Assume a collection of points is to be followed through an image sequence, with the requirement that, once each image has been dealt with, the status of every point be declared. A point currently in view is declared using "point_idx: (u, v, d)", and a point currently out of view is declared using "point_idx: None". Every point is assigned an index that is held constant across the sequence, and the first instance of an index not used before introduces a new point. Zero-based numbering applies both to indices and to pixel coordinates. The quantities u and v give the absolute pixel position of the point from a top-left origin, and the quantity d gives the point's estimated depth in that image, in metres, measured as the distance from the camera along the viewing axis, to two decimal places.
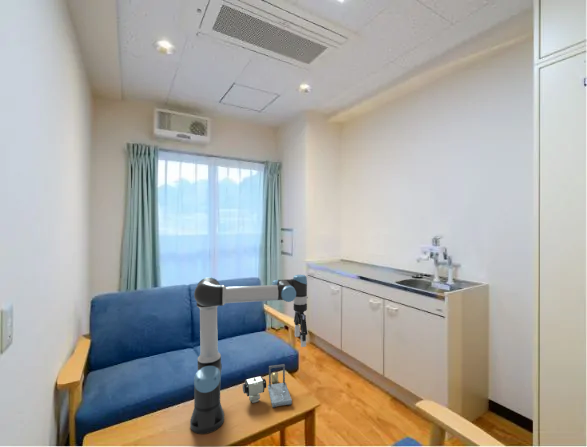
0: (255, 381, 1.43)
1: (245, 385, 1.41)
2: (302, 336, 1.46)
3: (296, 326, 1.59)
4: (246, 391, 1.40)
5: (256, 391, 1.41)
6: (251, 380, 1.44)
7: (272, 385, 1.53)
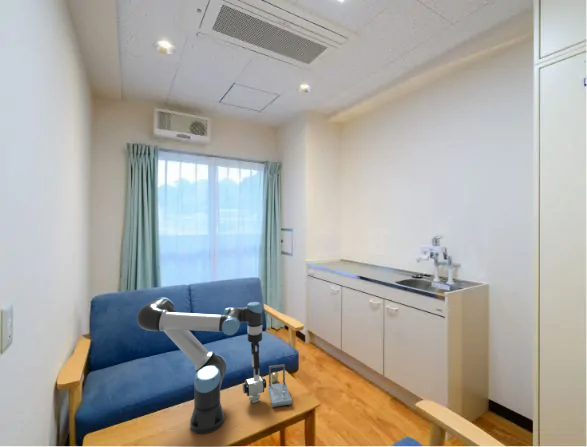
0: (255, 381, 1.43)
1: (245, 385, 1.41)
2: None
3: (253, 356, 1.50)
4: (246, 391, 1.40)
5: (256, 391, 1.41)
6: (251, 380, 1.44)
7: (272, 385, 1.53)
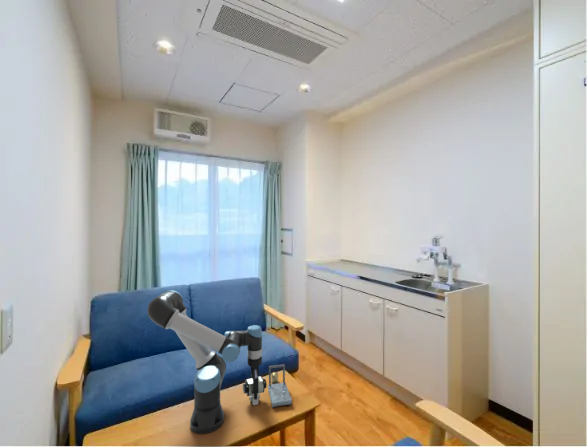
0: None
1: (245, 385, 1.41)
2: (254, 394, 1.40)
3: None
4: (246, 391, 1.40)
5: None
6: (251, 380, 1.44)
7: (272, 385, 1.53)
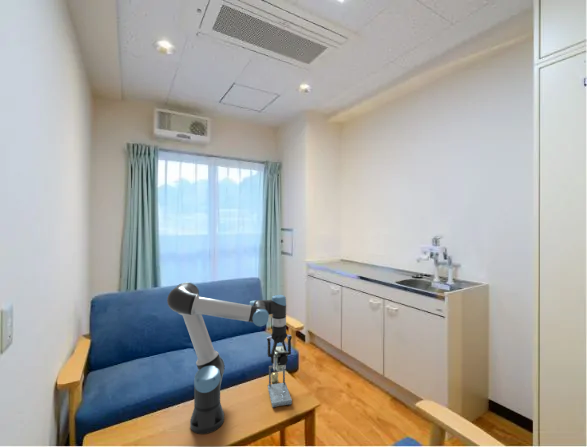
0: (278, 349, 1.46)
1: None
2: None
3: None
4: None
5: (275, 358, 1.45)
6: None
7: (272, 385, 1.53)
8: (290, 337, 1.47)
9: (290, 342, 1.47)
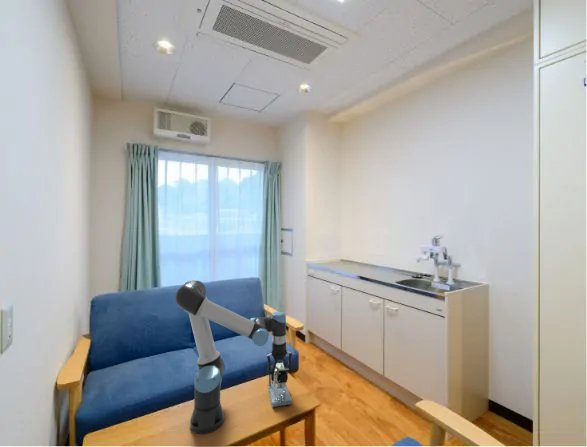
0: (278, 366, 1.46)
1: None
2: None
3: None
4: None
5: (275, 375, 1.45)
6: None
7: (272, 385, 1.53)
8: (290, 354, 1.47)
9: (290, 359, 1.47)
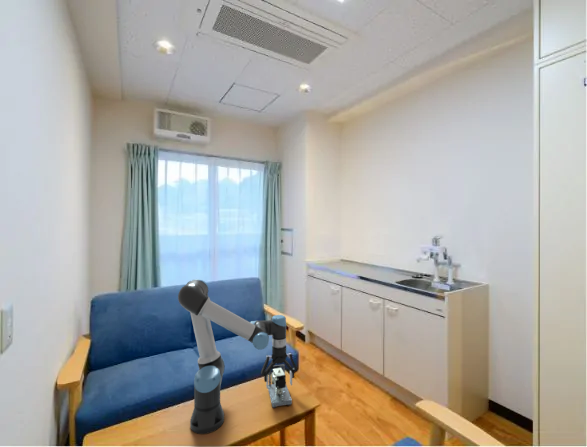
0: (276, 372, 1.46)
1: None
2: None
3: (290, 372, 1.49)
4: None
5: (273, 381, 1.45)
6: (279, 370, 1.48)
7: (272, 385, 1.53)
8: (290, 355, 1.47)
9: (292, 360, 1.47)
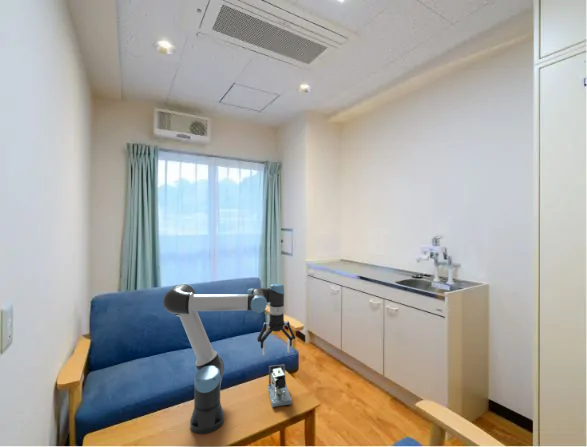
0: (276, 372, 1.46)
1: None
2: None
3: None
4: (272, 374, 1.50)
5: (273, 381, 1.45)
6: (278, 370, 1.48)
7: (272, 385, 1.53)
8: (288, 323, 1.47)
9: None
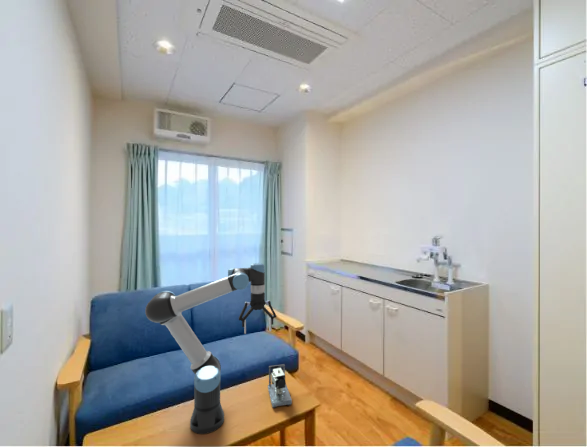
0: (276, 372, 1.46)
1: None
2: None
3: (269, 319, 1.50)
4: (272, 374, 1.50)
5: (273, 381, 1.45)
6: (278, 370, 1.48)
7: (272, 385, 1.53)
8: (269, 302, 1.48)
9: (271, 306, 1.49)
